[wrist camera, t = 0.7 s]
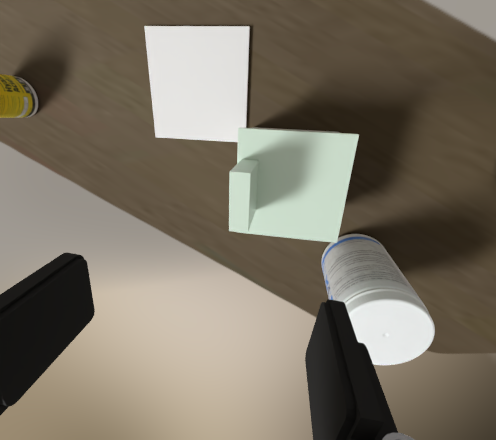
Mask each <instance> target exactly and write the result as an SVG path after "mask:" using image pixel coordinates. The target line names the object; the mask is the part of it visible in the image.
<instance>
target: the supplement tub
mask: <svg viewBox="0 0 496 440" xmlns="http://www.w3.org/2000/svg"><path fill="white" fill-rule="evenodd" d="M322 269H323V274H324V279H325V283H326V288H327V293H328V297H329V299H330V300H336V301H341V302H344V303H345V305H346V308H347V311H348V314H349V317H350V320H351V323H352V326H353V329H354V332H355V335H356V338H357V341H358V342H359V343H364V344H365V346H366V347H367V349H368V352H369V355H370V357H371V360H372V363H373V364H375V365H393V364H400V363H403V362H407V361H410V360H412V359H414V358H416V357H417V356H419V355H421V354H422V353H423V352H424V351H425V350H426V349H427V348H428V347H429V346H430V344H431V343H432V341H433V338H434V334H435V326H434V323H433V320H432V318H431V317H430V315H429V313H428V310H427V308H426V307H425V305H424V304H423V302H422V301H421V299H420V298H419V296H418V295H417V294H416V292H415V291H414V289H413V288H412V286H411V285H410V284H409V282H408V281H407V279H406V278H405V277H404V275H403V274H402V272H401V271H400V269H399V268H398V266H397V265H396V264H395V262H394V261H393V259H392V258H391V257H390V255H389V254H388V252H387V251H386V250H385V248H384V247H383V245H382V244H381V243H380V242H378V241H377V240H376V239H374V238H372V237H370V236H367V235H363V234H349V235H344V236H342V237H339V238H338V240H337V243H333V242H331V243H330V244H329V245H328V246H327V248H326V249H325V251H324V253H323V256H322Z"/></svg>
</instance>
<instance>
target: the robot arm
mask: <svg viewBox="0 0 496 440" xmlns="http://www.w3.org/2000/svg"><path fill="white" fill-rule="evenodd" d="M93 316H94V304H93V298H92V292H91V285H90V279H89V272H88V266H87V262H86V260H84V258H83V257H82V256H81V255H77V254H71V253H64V254H62V255H60V256H59V257H57V258H56V259H54V260H53V261H51V262H50V263H48V264H46V265H45V266H43V267H42V268H40V269H39V270H37V271H36V272H34V273H33V274H31V275H30V276H28V277H27V278H25V279H23V280H22V281H20V282H19V283H17V284H16V285H14V286H13V287H11V288H10V289H8V290H7V291H5V292H4V293H2V294H1V295H0V415H1V414H2V413H3V412H4V411H5V410H6V409H7V408H8V407H9V406H12V405H13V404H15V403H16V402H17V401H18V400H19V399H20V398H21V397H22V396H23V395H24V393H25V392H26V391H27V390H28V389H29V388H30V387H31V386H32V385H33V383H35V381H36V380H37V379H38V378H39V377H40V376H41V375H42V374H43V373H44V372H45V370H46V369H47V368H48V367H49V366H50V365H51V363H53V362H54V360H55V359H56V358H57V357H58V356H59V355H60V354H61V353H62V352H63V351H64V349H65V348H66V347H67V346H68V345H69V344H70V343H71V342H72V341H73V340H74V338H75V337H76V336H77V335H78V334H79V333H80V332H81V331H82V330H83V329H84V327H85V326H86V325H87V324H88V323H89V322H90V321H91V319H92V318H93ZM305 359H306V360H305V361H306V371H307V381H308V391H309V401H310V410H311V421H312V430H313V440H414V439H413V438H411V437H409V436H406V435H404V434H402V433H398V431H397V428H396V426H395V423H394V420H393V417H392V415H391V412H390V409H389V407H388V404H387V401H386V398H385V396H384V393H383V390H382V388H381V385H380V382H379V379H378V377H377V374H376V371H375V369H374V366H373V363H372V360H371V357H370V355H369V352H368V349H367V347H366V346H365V344H364V343H359V342H358V341H357V338H356V335H355V332H354V329H353V326H352V323H351V320H350V317H349V314H348V311H347V308H346V305H345V303H344V302H341V301H336V300H330V299H328V300H327V302H326V303H325V302H322V303H321V306H320V309H319V312H318V315H317V319H316V322H315V325H314V328H313V331H312V335H311V338H310V341H309V344H308V347H307V351H306V358H305Z"/></svg>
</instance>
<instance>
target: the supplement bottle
mask: <svg viewBox="0 0 496 440" xmlns="http://www.w3.org/2000/svg"><path fill="white" fill-rule="evenodd" d="M37 109H38V98H37V95H36V92H35V91H34V89H33V87H32V86H31V85H30V84H29V83H28V82H27V81H25V80H24V79H22V78H20V77H16V76H9V75H2V74H0V117H30V116H33V115H34V114H35V113H36V111H37Z"/></svg>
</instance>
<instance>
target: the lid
mask: <svg viewBox="0 0 496 440" xmlns="http://www.w3.org/2000/svg"><path fill="white" fill-rule="evenodd" d="M358 138H359V134H352V133H333V132H315V131H296V130H277V129H258V128H238V156H237V165H236V166H235V167H234V168H233V169H232V170H231V171H230V183H229V231H235V232H239V233H249V234H258V235H267V236H277V237H286V238H296V239H305V240H315V241H324V242H333V243H337V240H338V235H339V230H340V225H341V220H342V216H343V211H344V206H345V201H346V196H347V191H348V186H349V181H350V177H351V172H352V167H353V162H354V157H355V152H356V147H357V142H358Z"/></svg>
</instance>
